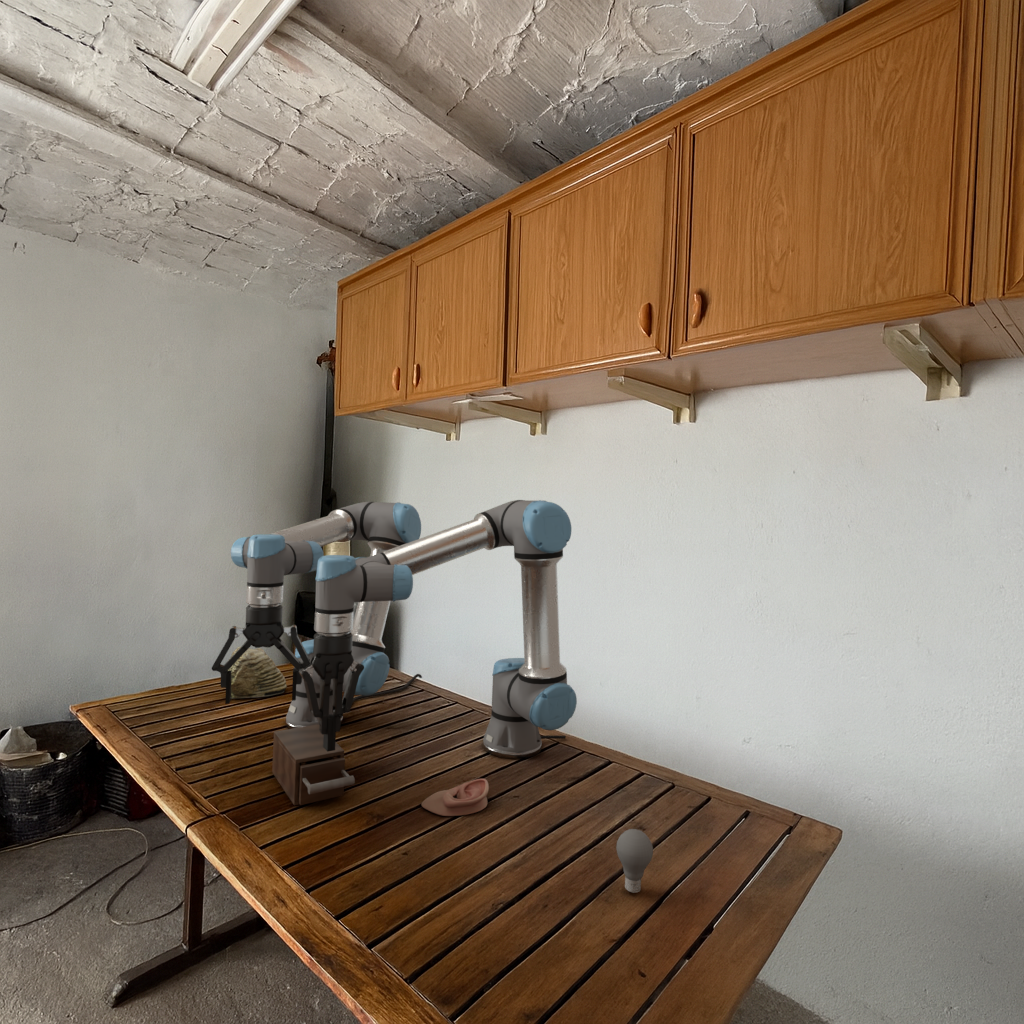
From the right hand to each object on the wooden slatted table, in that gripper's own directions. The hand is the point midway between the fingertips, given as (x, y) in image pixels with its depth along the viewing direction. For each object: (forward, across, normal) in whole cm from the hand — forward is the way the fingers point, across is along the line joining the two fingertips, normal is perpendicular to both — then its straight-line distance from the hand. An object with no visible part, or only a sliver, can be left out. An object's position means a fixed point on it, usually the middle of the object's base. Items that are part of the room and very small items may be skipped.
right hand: (329, 748), depth 128 cm
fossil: (+13, +4, +82) cm, 83 cm away
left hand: (-5, -8, +21) cm, 23 cm away
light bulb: (+13, +35, -51) cm, 63 cm away
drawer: (+12, 0, +8) cm, 14 cm away
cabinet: (+13, 0, +14) cm, 19 cm away
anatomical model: (+13, +24, -10) cm, 29 cm away
